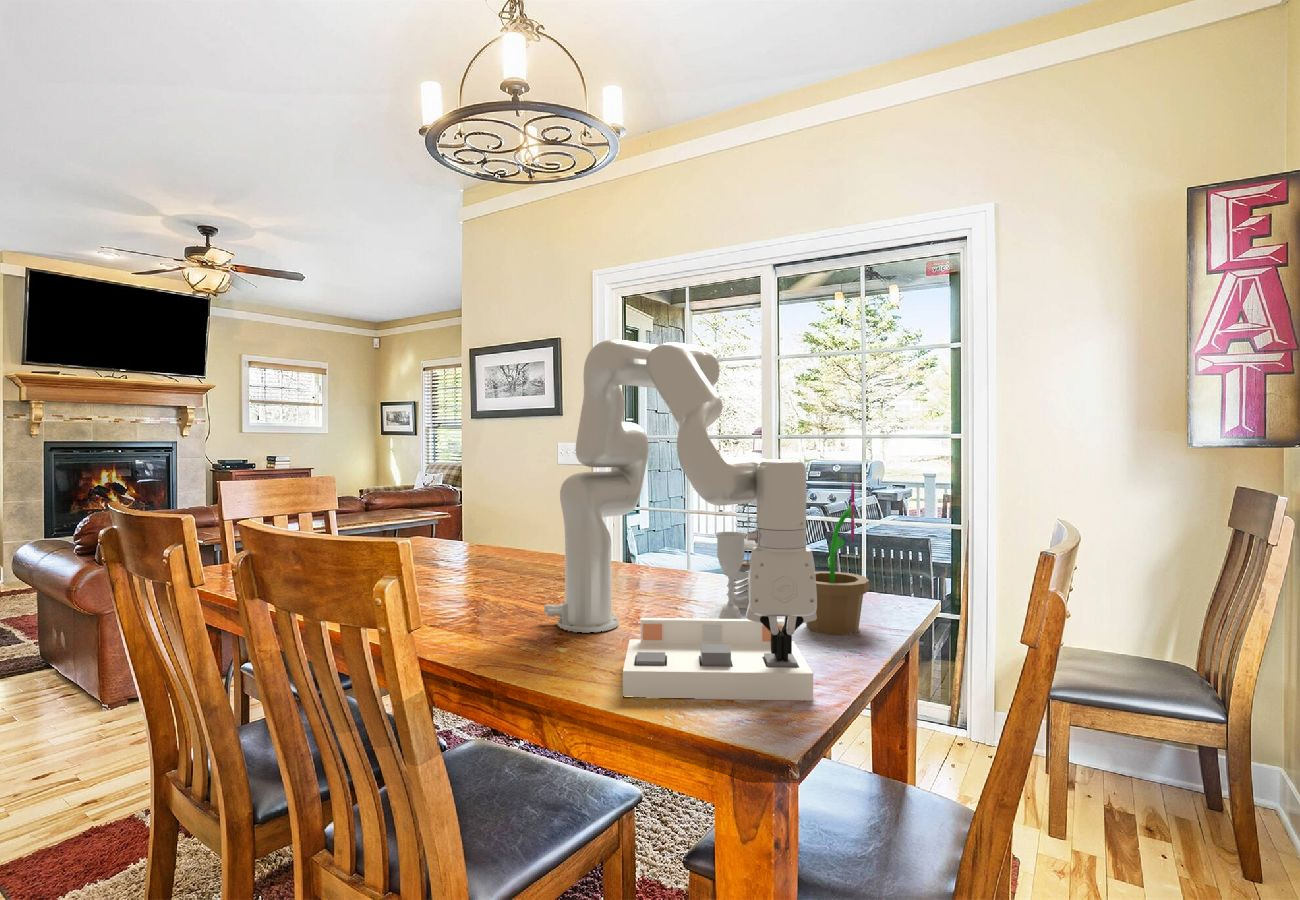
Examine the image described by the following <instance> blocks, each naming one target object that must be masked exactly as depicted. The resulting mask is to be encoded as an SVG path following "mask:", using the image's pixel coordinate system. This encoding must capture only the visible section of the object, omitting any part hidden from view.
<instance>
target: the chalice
mask: <svg viewBox="0 0 1300 900" xmlns="http://www.w3.org/2000/svg"><path fill="white" fill-rule="evenodd" d="M714 535H715V537H716V543H717V545H716V546H717V547H716V551H717V553H716V555H717V559H718V564H719V566H720V568H721V570H722V573H723V575H724V576H726V577H727V578H728V579H727V581H728V583H727V585H726V587H727V589H728V592H727V593H726V596H727V598H728V601H727V602H728V603H727V602H726V604H725V605H723V606H722V608H721V610H720V613H719V615H718V618H719V619H743V615H742V614H741V611H740V608H738V606H736V605H734V603H733V596H734V595H735V594H736V593H735V592H734V593H735V594H734V593H733V587H734V585H733V577H734V576H736V575H737V574H738V572H739V570H740V567H741V565H742V562H743V560H745V559H744V558H745V550H744V539H746V538H747V533H745V532H739V531H719V532H716V533H714ZM734 588H735V587H734Z"/></svg>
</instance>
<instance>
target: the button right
mask: <svg viewBox="0 0 1300 900" xmlns="http://www.w3.org/2000/svg"><path fill="white" fill-rule="evenodd" d="M764 663H765V665H766V667H789V668H797V661H796V660H795V658H794V656H793V654H788V661H784V660H783V659H782V660H781V661H777V659H776V657H775V654H772V653H764Z"/></svg>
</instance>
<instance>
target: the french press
mask: <svg viewBox="0 0 1300 900" xmlns="http://www.w3.org/2000/svg"><path fill="white" fill-rule="evenodd" d="M749 504H750V503H747V532H750V530H749V529H750V528H749V525H750V524H749V523H750V522H749V519H750V518H749V515H750V514H749V513H750V512H749V511H750V510H749V507H750V506H749ZM753 547H757V544H756V543H755V542H754V541H748V540H747V537H745V539H744V551H747V558H748V559H743V562H742V565H741V567H740V570H739V572H738V574H737V575H736V576H734V577H733V585H734V587H733V593H734V594H735V595H734V596H733V603H734V605H736V606H738V608H739V609H746V610H747V608H748V575H749V565H750V558H749V551H752V548H753ZM738 581H739V582H738ZM736 582H738V583H736ZM737 587H738V588H737ZM727 603H728V601H727V602H726V604H727Z"/></svg>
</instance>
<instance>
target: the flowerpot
mask: <svg viewBox="0 0 1300 900" xmlns="http://www.w3.org/2000/svg"><path fill="white" fill-rule="evenodd" d="M850 501H851V502H850V505H849V506H848V507H847V509H846V510H845V511H844V512H843V513H842V514H841V516H840V518H839V520H838V522H837V523H836V526H835V527H834V529H833V534H832V538H831V543H830V547H829V555H830V556H828V558H827V569H829V571H819V570H818V571H817V570H815V576H816V590H817V610H816V615H817V619H816V620H815V621H810V622H806V623H805V624H806V627H807V629H808V630H809V631H812V632H814V631H815V632H814V633H817V634H822V633H823V634H824V635H829V636H846V635H845V634H848V635H851V634H850V633H854V634H856V633H857V632H858V631H859V627H860V621H861V620H860V619H861V613H862V607H863V606H862V605H863V598H864V595H865V594H867V593H868V592H869V591H870V580H869V579H868V578H867V577H865V576H863V575H861V574H860V575H859V574H856V573H851V572H842V571H841V572H840V571H835V570H836V563H835V562H836V561H835V560H836V552H838V551H839V550H840V549H841V548H842V547H843V546H844V545H845V540H844V539H843V538H841V537H840V536H838V535H839V531H840V530H841V528H842V525H844V522H845V520H846V519H847V518H850V538H851V539H850V540H851V542H853V543H854V539H855V483H854V481H852V482H851V486H850ZM857 630H858V631H857ZM856 631H857V632H856ZM855 632H856V633H855ZM823 634H822V635H823ZM843 634H844V635H843Z"/></svg>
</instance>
